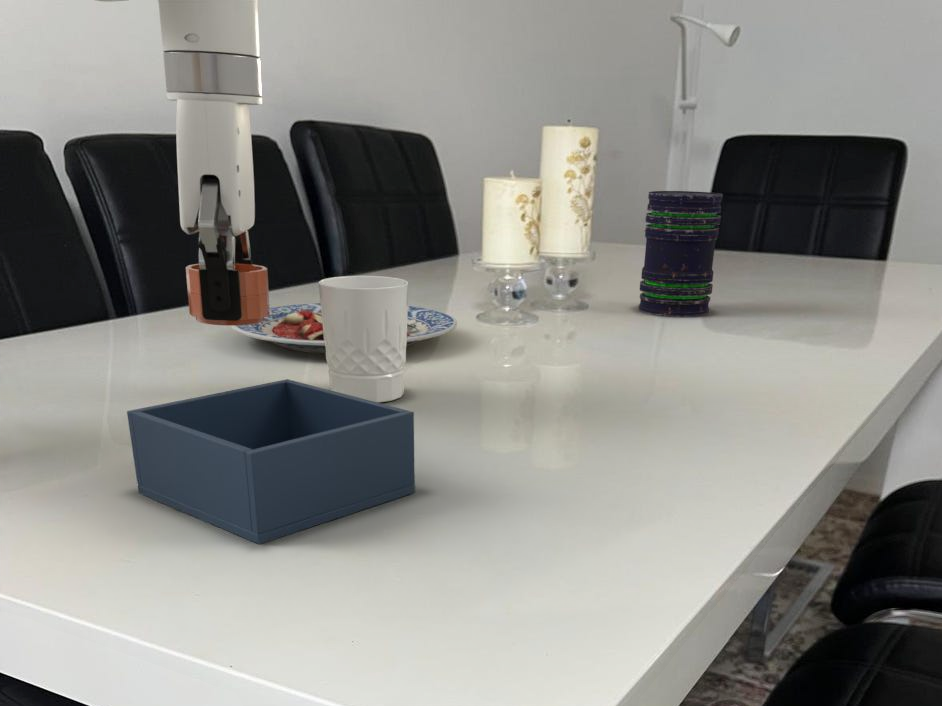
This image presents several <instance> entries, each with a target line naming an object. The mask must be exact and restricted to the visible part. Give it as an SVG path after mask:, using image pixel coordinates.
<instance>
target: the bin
mask: <svg viewBox="0 0 942 706" xmlns="http://www.w3.org/2000/svg"><path fill="white" fill-rule="evenodd" d="M126 416H127V422H128V429H129V435H130V442H131V449H132V456H133V465H134V470H135V477H136V478H135V479H136V484H137V491H138V494H140V495H142V496H145V497H147V498H150V499H151V500H154V501H156V502H158V503H161V504H163V505H166V506H168V507H169V508H172V509H175V510H177V511H181V512H182V513H185V514H186V515H189V516H191V517H194V518H197V519H199V520H201V521H203V522H206V523H208V524H210V525H212V526H215V527H218V528H220V529H223V530H225V531H227V532H229V533H231V534H232V533H233V534H234V535H237V536H239V537H241V538H244V539H246V540H248V541H251V542H253V543H256V544H258V545H261V544H264V543H266V542H269V541H273V540H276V539H279V538H282V537H284V536H285V537H286V536H288V535H292V534H294V533H298V532H300V531H303V530H307V529H309V528H313V527H315V526H318V525H322V524H324V523H327V522H330V521H334V520H337V519H340V518H342V517H345V516H348V515H351V514H355V513H358V512H361V511H364V510H367V509H369V508H372V507H375V506H378V505H382V504H385V503H388V502H391V501H394V500H397V499H400V498H403V497H406V496H409V495H411V494H415V492H416V485H415V484H416V483H415V478H416V477H415V412H414V411H411V410H408V409H404V408H400V407H396V406H392V405H388V404H385V403H382V402H378V403H377V402H373V401H369V400H366V399H362V398H358V397H354V396H350V395H346V394H343V393H339V392H335V391H331V390H330V389H327V388H323V387H320V386H317V385H316V386H315V385H313V384H312V385H311V384H307V383H304V382H300V381H296V380H292V379H288V378H286V379H282V380H276V381H271V382H266V383H261V384H255V385H251V386H246V387H241V388H236V389H230V390H225V391H221V392H217V393H210V394H206V395H201V396H196V397H190V398H186V399H180V400H176V401H171V402H165V403H160V404H157V405H151V406H147V407H141V408H135V409H130V410H127V411H126Z"/></svg>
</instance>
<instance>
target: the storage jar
mask: <svg viewBox="0 0 942 706" xmlns="http://www.w3.org/2000/svg"><path fill="white" fill-rule="evenodd" d="M723 195H724V194H723V193H719V192H711V191H710V192H709V191H694V190H693V191H690V190H654V191H648V197H647V198H648V203H647V208H646V209H647V211H648V212H646V213H645V223H647V224H645V230H644V232H645V233H644V237H645V250H644V251H645V252H644V261H643V263H644V264H643V267H642V268H641V275H640V276H641V277H640V278H641V279H642V280H640V281H639V292H641V293H639V299H640V301H639V302H640V303H639V304H638V311H639V312H640V313H644V314H647V315H652V316H653V315H654V316H659V317H660V316H661V317H669V318H671V317H673V318H693V317H703V316H706V315H708V314H709V313H710V307H709V303H710V301H711V296H709V295H711V294H713V286H714V285H713V284H712V282H713V280H714V270H713V264H714V257H715V248H716V241H717V240H718V237H719V234H720V233H719V229H720V228H719V227H718V226H720V225H721V217H722V215H720V213H721V211H722V206H721V203H722V201H723V197H724V196H723Z"/></svg>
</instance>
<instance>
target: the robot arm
mask: <svg viewBox="0 0 942 706" xmlns="http://www.w3.org/2000/svg"><path fill="white" fill-rule="evenodd" d="M125 1H128V0H95V2H104V3H105V2H106V3H108V2H109V3H110V2H111V3H112V2H125ZM157 1H158V9H159V20H160V21H159V22H160V33H161V43H162V52H163V66H164V77H165V89H166V100H167V101H171V102H175V101H176V116H175V118H176V119H175V120H176V121H175V122H176V123H175V130H176V131H175V132H176V135H175V136H176V165H177V166H176V167H177V184H178V185H177V186H178V203H179V223H180V228H181V230H182V231H183V232H184V233H186V234H187V235H194V234H196V233H198V264H199V267H200V269H199V277H200V289H201V302H202V314H203V317H204V318H205V319H206V320H230V321H238V320H240V318H241V317H242V310H241V295H240V279H239V270H235V263H240V264H241V263H242V264H253V260H252V259H251V257H252V256H251V255H252V254H251V252H252V251H251V243H250V237H249V230H250V229H252V227H253V226H254V225H255V219H256V202H255V200H256V199H255V176H254V175H255V173H254V159H253V157H254V156H253V144H252V143H253V142H252V127H251V118H250V117H251V116H250V106H263V104H264V103H263V88H262V70H261V69H262V66H261V59H260V58H261V46H260V29H259V28H260V27H259V9H258V7H259V6H258V5H259V4H258V0H157Z"/></svg>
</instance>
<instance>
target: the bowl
mask: <svg viewBox="0 0 942 706" xmlns="http://www.w3.org/2000/svg"><path fill="white" fill-rule="evenodd" d="M199 269H200V267H199V263H195V264H189V265H187V266H185V276H186V289H187V298H188V312H189V315H190V316H192V317H194V318H195V320H196V322H198V323H201V324H205V325H212V326H229V327H231V326H238V325H251V324H257V323H261V322H263V321H264V317H267V316H268V315H269V314H270V308H271V307H270V294H269V293H270V292H269V272H268V267H266V266H264V265H258V264H253V263H252V264H242V263H241V264H240V263H235V270H239V279H240V295H241V310H242V317H241V318H240V320H238V321H230V320H206V319H205V318H204V317H203V314H202V302H201V289H200V277H199Z"/></svg>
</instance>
